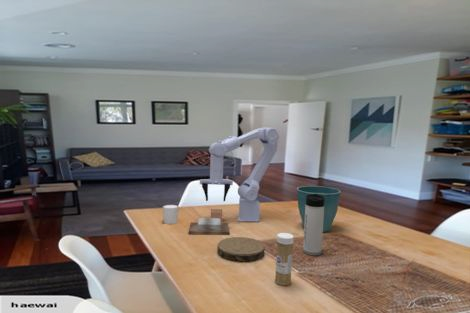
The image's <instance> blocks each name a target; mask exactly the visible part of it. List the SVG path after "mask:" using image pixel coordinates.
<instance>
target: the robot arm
mask: <svg viewBox="0 0 470 313" xmlns="http://www.w3.org/2000/svg"><path fill="white" fill-rule="evenodd" d="M279 138H280V134H279V132H278V129H276V128H275V127H265V126H261V127H260V128H256V129H253V130H251V131H248V132H246V133H244V134H241V135H240V136H238V137H237V136H235V135H229V136H228V138H225V139H223V140H222V139H220V140H218V142H213V143H212V144H211V145H210V146H209V148H208V152H209V153H210V160H209V162H210V165H209V168H210V169H209V178H208V179H206V178H205V179H204V178H203V179H202V178H201V179H199V185H201V188H202V190H203V192H204V197H205V201H206V202H208V200H209V194H208V193H209V192H208V191H209V190H208V189H209V185H217V186H219V185H220V186H222V185H223V186H224V188H223V189H224V190H223V191H224V192H223V202H225V201H226V198H227V196H228V192H229V191H230V188H231V186H233V183H234V180H233V179H230V180H229V179H224V156H225V155H226V153H229V152H232V151H235V150H236V149H238V148H240V146H241V145H242V144H244V143H246V142H249V141H252V140H255V139H258V140H259V141H260V142H261V144H262V145H263V148H264V149H263V150H262V153H261V155H260V156H259V158H258V160H257V162H256V163H255V165H254V167H253V169H252V171H251V173H250V175H249V176H248V178H246V179H245V180H244V181H243V183H242V184H240V185H239V186H238V188H237V194H238V196H239V201H238V202H239V203H238V206H239V207H238V215H237V221H238V222H257V223H258V222H259V223H260V215H261V214H260V213H261V211H260V210H261V208H260V207H261V206H260V205H261V203H260V200H256V199H257V198H258V193H259V190H260V182H261V180H262V179H263V177H264V174H265V172H266V171H267V169H268V168H269V166H270V163H271V162H272V160H273V158H274V156H275V155H276V153H277V151H278V140H279Z"/></svg>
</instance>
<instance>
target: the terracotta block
mask: <svg viewBox="0 0 470 313" xmlns="http://www.w3.org/2000/svg"><path fill="white" fill-rule="evenodd" d="M210 218H220V222H221V223H223V209H222V208H220V209H219V208H211V209H210Z"/></svg>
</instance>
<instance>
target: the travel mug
mask: <svg viewBox="0 0 470 313" xmlns="http://www.w3.org/2000/svg"><path fill="white" fill-rule="evenodd" d="M324 200H325V198H324V197H323V196H321V195H319V194H312V195H307V196H306V206H305V224H304V228H303V242H302V243H303V245H302V252H303V253H304V254H306V255H309V256H320V255H321V254H322V251H323V250H322V249H323V248H322V247H323V234H324V232H323V220H324Z"/></svg>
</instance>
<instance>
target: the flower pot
mask: <svg viewBox="0 0 470 313" xmlns="http://www.w3.org/2000/svg"><path fill="white" fill-rule="evenodd" d="M296 192H297V207H298V212H299V215H300V218H301V223H302V228H303V229H304V224H305V206H306V196H307V195H312V194H319V195H321V196H323V197H324V198H325V200H324V220H323V233H324V232H330V231H331V230H332V225H333V223H334V221H335V218H336V215H337V213H338V210H339V209H338V208H339V203H340V202H339V201H340V195H341V190H339V189H337V188H333V187H330V186H329V187H328V186H319V185H317V186H316V185H306V186H305V185H303V186H298V187H297V188H296Z"/></svg>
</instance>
